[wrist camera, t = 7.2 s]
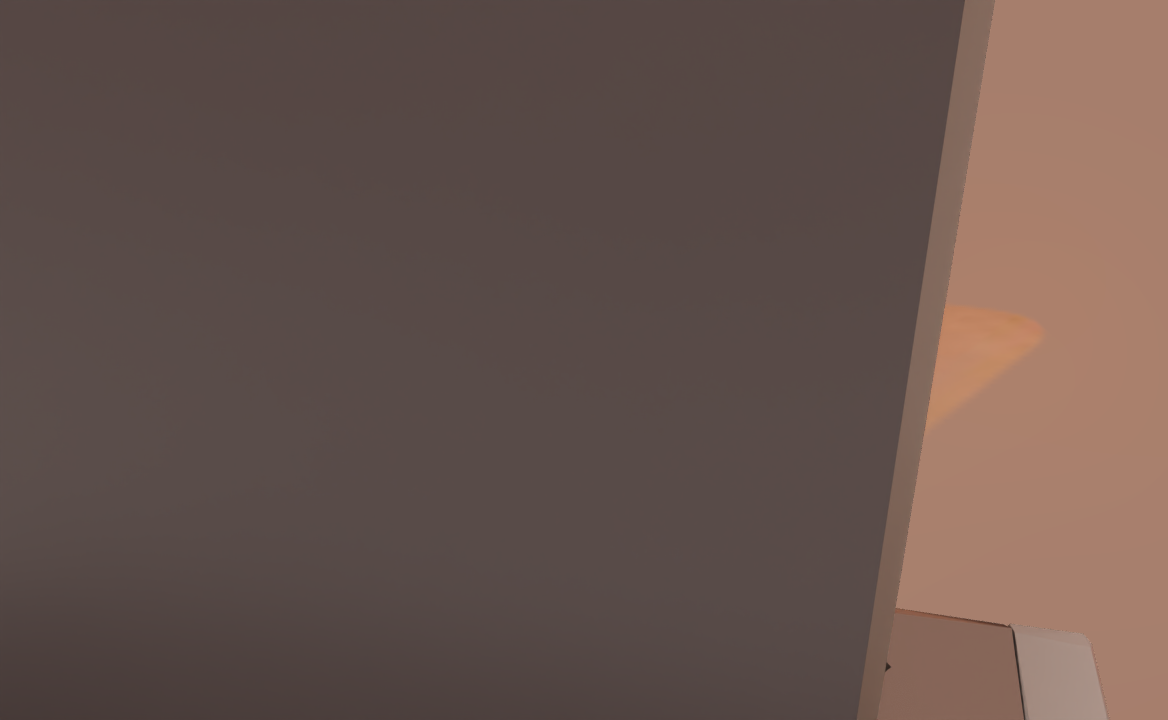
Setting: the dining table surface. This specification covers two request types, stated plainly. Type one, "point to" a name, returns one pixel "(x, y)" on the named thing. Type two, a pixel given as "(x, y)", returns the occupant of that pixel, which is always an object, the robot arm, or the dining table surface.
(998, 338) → the dining table surface
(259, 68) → the tall taupe pillar
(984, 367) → the dining table surface
